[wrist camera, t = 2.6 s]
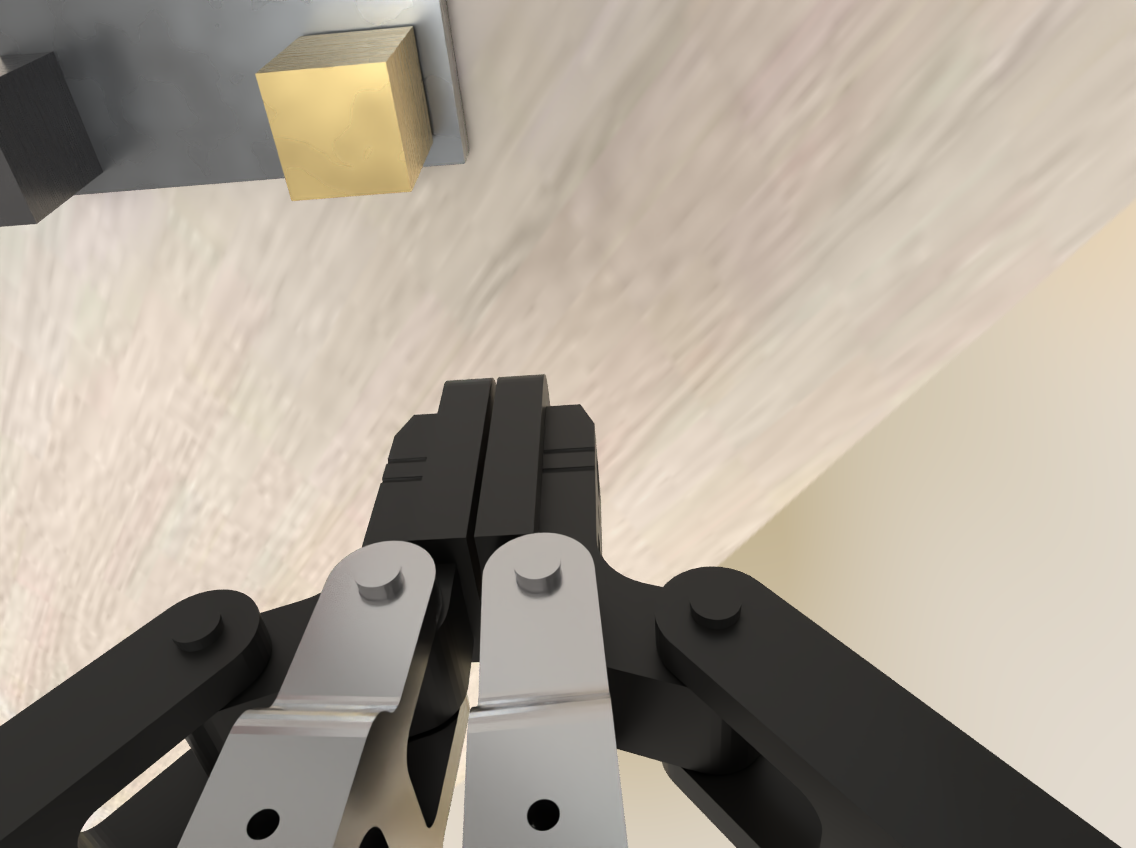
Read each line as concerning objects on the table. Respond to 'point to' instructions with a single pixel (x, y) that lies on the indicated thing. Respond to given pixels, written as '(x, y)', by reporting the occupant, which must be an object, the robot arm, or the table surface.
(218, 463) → the table surface
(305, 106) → the slider
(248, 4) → the press frame
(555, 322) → the table surface
